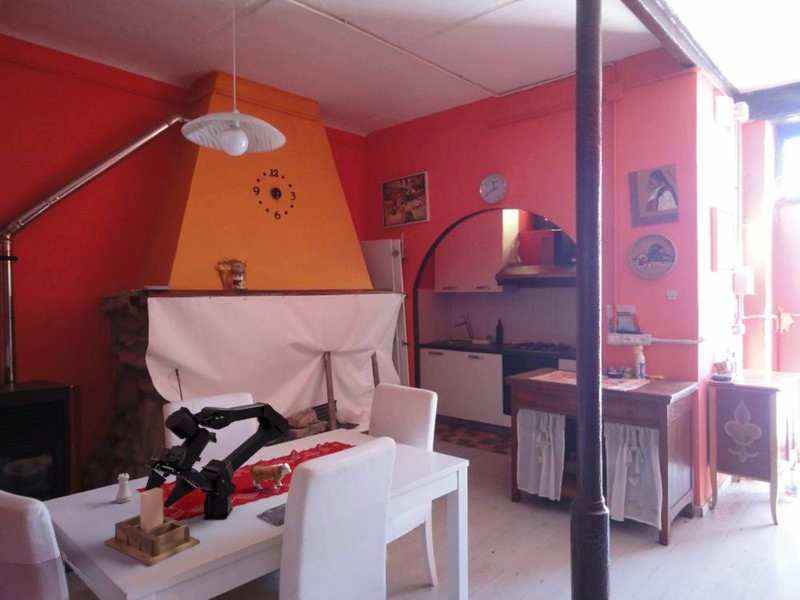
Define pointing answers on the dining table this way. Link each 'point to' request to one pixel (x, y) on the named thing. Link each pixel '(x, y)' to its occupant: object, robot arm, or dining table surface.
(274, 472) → the bull figurine
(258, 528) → the dining table surface
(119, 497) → the rook chess piece
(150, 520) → the tan rectangular block
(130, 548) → the wooden compartment tray
